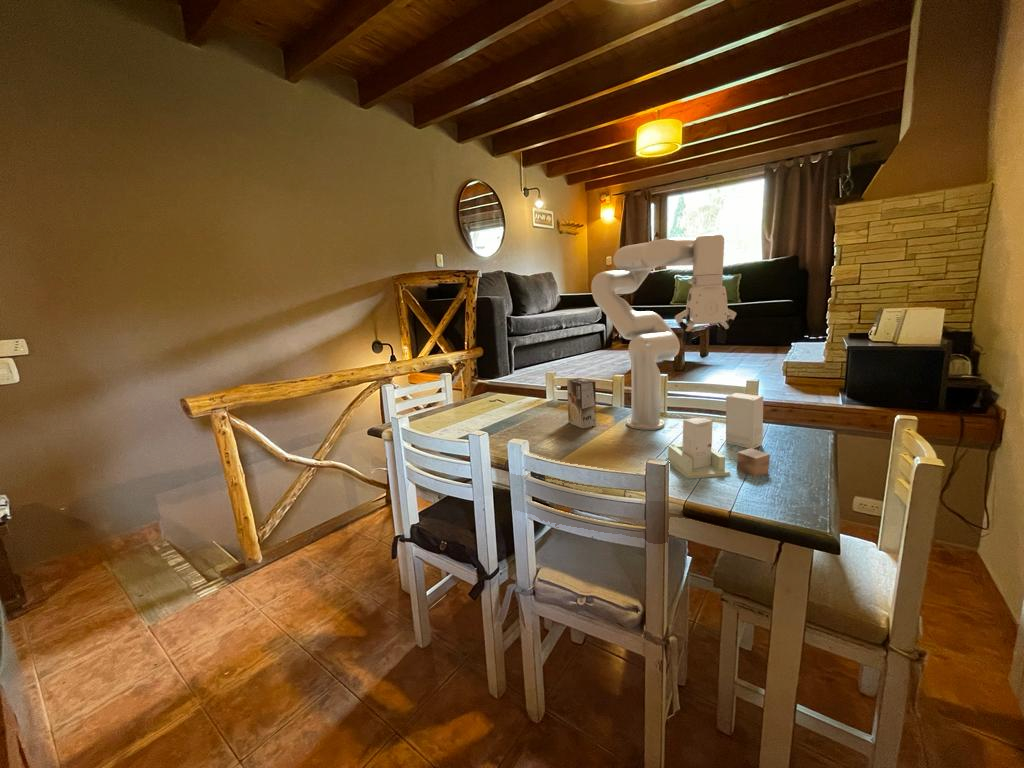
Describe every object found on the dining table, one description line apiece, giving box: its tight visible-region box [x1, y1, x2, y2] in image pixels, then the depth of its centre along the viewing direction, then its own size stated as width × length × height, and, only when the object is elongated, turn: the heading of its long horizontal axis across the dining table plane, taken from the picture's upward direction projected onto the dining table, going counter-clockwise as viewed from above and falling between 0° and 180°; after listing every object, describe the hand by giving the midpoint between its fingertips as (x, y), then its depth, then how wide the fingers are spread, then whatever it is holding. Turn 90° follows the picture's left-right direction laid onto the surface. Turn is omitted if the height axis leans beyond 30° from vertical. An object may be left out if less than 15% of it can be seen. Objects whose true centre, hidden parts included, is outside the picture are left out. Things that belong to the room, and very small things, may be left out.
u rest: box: [665, 443, 731, 479], centre depth 110 cm, size 12×11×4 cm
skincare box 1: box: [682, 416, 714, 469], centre depth 109 cm, size 6×4×12 cm
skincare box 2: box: [725, 392, 764, 449], centre depth 123 cm, size 8×6×15 cm
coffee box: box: [566, 377, 597, 430], centre depth 149 cm, size 9×6×16 cm
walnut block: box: [736, 448, 771, 478], centre depth 106 cm, size 5×5×5 cm
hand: (704, 343), depth 119 cm, fingers open, 9 cm apart
